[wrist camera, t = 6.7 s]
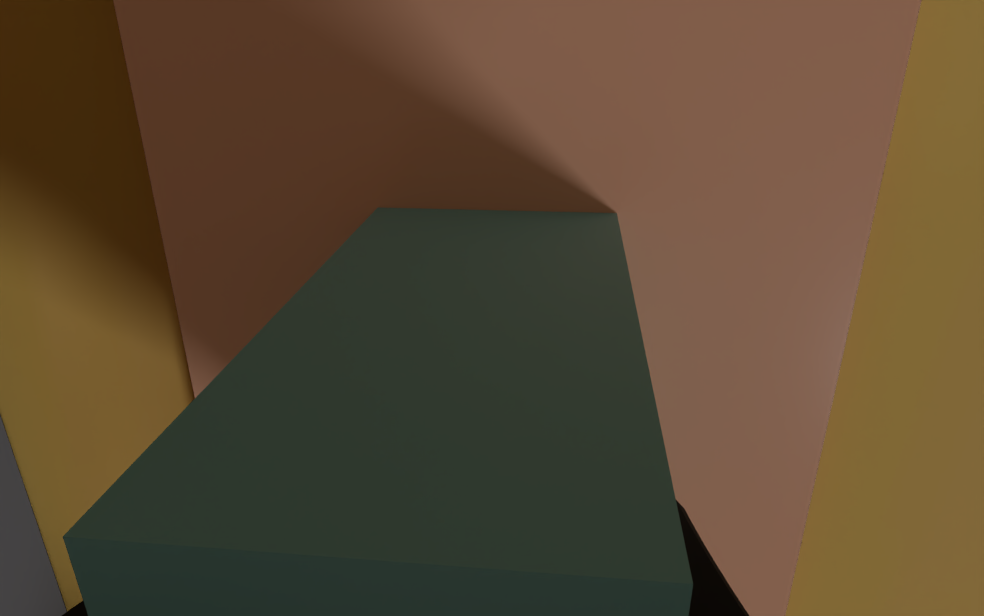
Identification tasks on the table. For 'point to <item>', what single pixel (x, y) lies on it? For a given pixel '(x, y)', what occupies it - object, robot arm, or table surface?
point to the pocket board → (22, 548)
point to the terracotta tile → (555, 189)
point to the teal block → (414, 443)
